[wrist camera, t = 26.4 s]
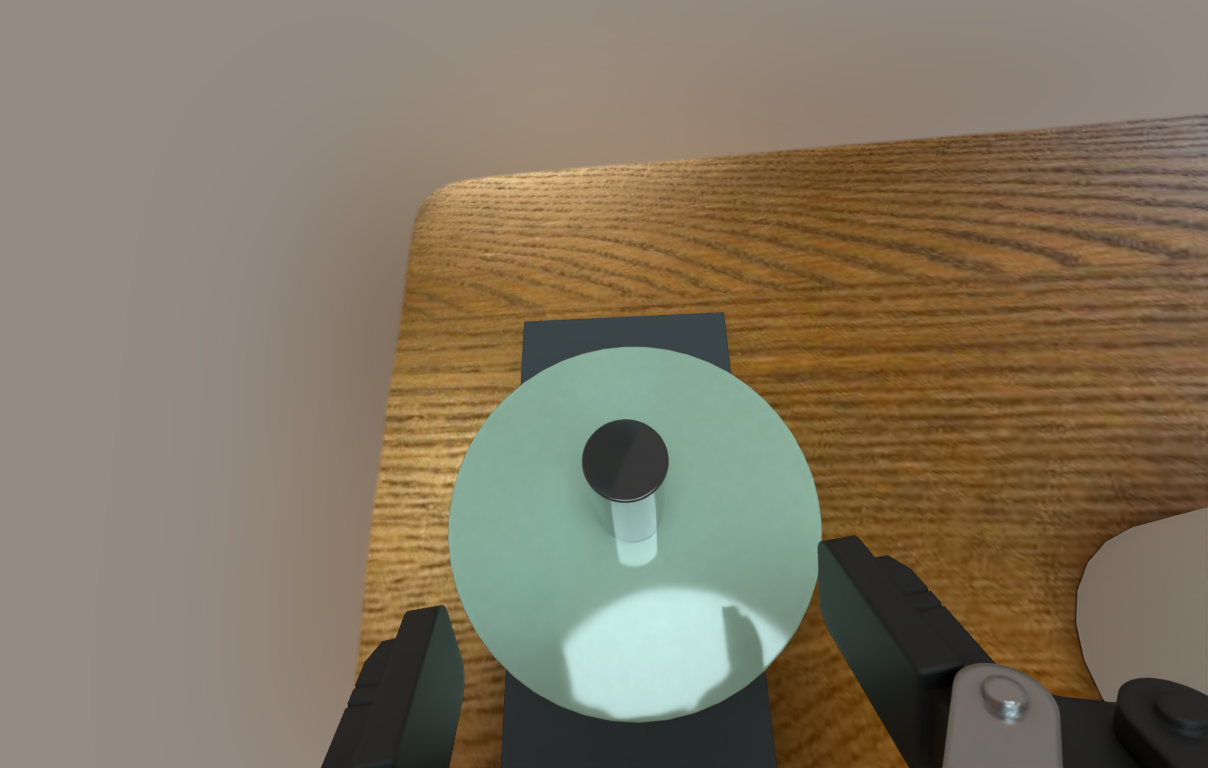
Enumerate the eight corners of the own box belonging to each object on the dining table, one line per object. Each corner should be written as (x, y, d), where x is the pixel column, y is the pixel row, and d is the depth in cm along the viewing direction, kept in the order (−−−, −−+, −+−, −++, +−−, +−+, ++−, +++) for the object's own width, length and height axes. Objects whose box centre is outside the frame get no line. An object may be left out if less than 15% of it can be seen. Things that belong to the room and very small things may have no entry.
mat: (775, 793, 19) (780, 799, 18) (504, 794, 20) (498, 799, 19) (721, 321, 27) (723, 311, 26) (527, 330, 27) (524, 321, 27)
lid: (684, 818, 18) (703, 906, 12) (384, 558, 23) (277, 517, 16) (877, 474, 23) (971, 400, 16) (595, 307, 27) (578, 194, 20)
